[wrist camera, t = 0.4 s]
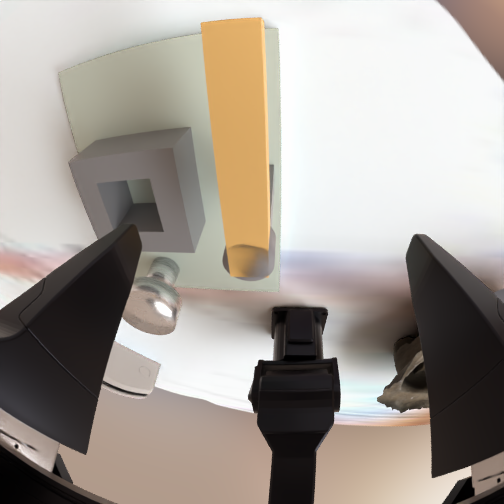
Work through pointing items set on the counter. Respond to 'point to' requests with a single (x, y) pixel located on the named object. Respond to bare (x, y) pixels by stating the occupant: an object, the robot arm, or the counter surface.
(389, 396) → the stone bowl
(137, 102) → the block
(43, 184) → the counter surface
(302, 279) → the counter surface
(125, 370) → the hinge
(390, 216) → the counter surface
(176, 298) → the pin
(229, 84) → the bar
